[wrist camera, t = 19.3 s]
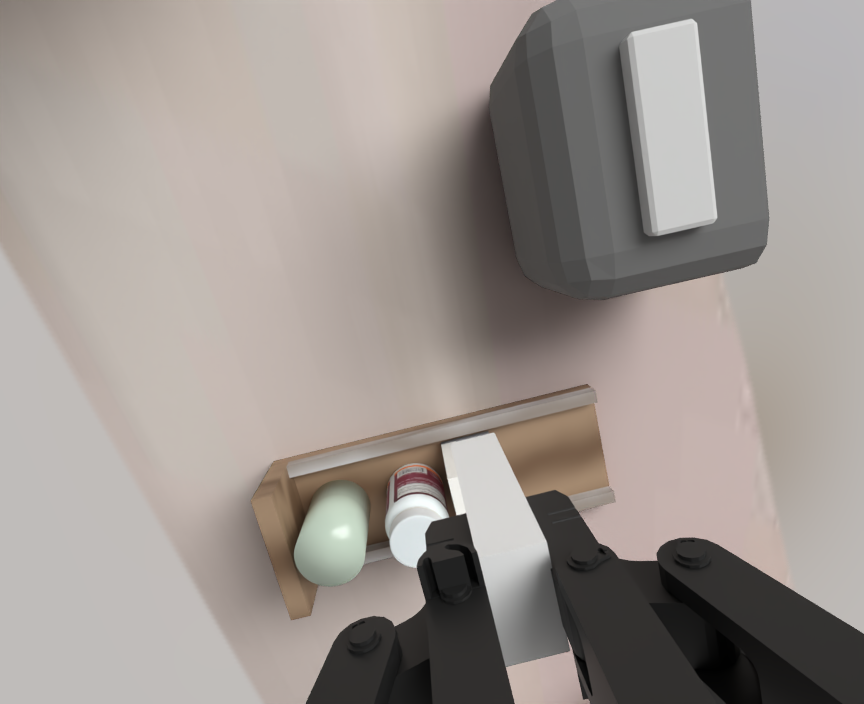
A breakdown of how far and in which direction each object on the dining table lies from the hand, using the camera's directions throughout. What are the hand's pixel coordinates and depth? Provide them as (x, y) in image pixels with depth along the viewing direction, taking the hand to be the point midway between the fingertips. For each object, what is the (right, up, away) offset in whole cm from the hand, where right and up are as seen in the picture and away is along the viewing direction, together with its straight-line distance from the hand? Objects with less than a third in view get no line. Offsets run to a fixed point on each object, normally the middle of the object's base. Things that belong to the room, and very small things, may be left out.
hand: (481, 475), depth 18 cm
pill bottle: (-3, -7, +28) cm, 29 cm away
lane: (-1, -7, +28) cm, 29 cm away
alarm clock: (+9, +18, +24) cm, 31 cm away
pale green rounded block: (-9, -9, +27) cm, 30 cm away
